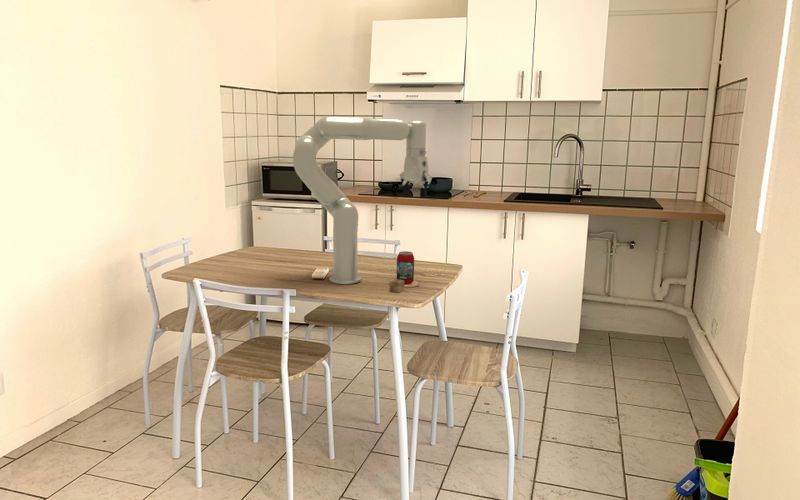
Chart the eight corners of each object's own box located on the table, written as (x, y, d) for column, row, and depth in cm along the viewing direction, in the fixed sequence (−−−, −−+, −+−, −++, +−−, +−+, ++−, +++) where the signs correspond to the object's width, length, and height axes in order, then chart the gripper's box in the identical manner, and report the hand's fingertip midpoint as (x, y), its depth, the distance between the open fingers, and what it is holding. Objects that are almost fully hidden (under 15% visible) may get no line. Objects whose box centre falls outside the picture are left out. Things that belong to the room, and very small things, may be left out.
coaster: (387, 283, 233) (387, 282, 233) (406, 279, 239) (406, 278, 239) (404, 289, 226) (404, 287, 225) (423, 284, 232) (423, 283, 232)
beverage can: (394, 284, 230) (395, 253, 227) (398, 279, 236) (398, 250, 234) (411, 285, 228) (412, 255, 226) (415, 281, 235) (415, 251, 232)
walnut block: (389, 291, 222) (389, 281, 221) (394, 289, 226) (394, 279, 225) (399, 293, 220) (399, 282, 219) (403, 290, 224) (404, 280, 223)
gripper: (438, 153, 228) (437, 198, 231) (407, 151, 240) (407, 194, 244) (424, 154, 223) (423, 199, 226) (393, 152, 235) (393, 195, 239)
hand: (414, 196), depth 235 cm, fingers open, 9 cm apart
